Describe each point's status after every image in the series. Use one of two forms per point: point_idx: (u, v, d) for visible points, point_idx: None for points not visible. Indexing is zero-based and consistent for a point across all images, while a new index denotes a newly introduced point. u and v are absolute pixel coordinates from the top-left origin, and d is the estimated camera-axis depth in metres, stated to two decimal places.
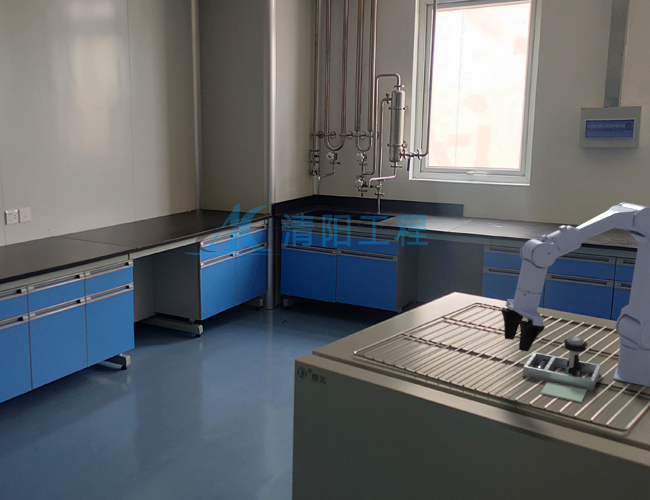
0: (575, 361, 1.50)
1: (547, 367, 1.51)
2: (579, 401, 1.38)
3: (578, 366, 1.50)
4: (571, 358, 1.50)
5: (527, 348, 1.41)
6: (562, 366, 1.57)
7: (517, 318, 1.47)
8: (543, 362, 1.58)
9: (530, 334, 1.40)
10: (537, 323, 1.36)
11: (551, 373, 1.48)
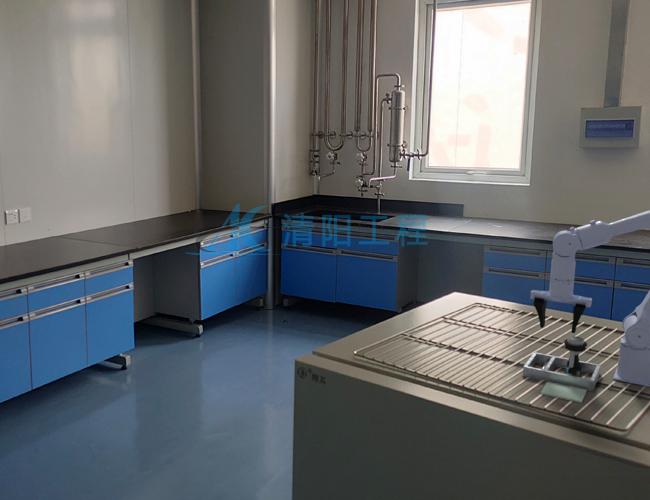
0: (575, 361, 1.50)
1: (547, 367, 1.51)
2: (579, 401, 1.38)
3: (578, 366, 1.50)
4: (571, 358, 1.50)
5: (575, 328, 1.54)
6: (562, 366, 1.57)
7: (545, 305, 1.57)
8: None
9: None
10: (590, 305, 1.50)
11: (551, 373, 1.48)
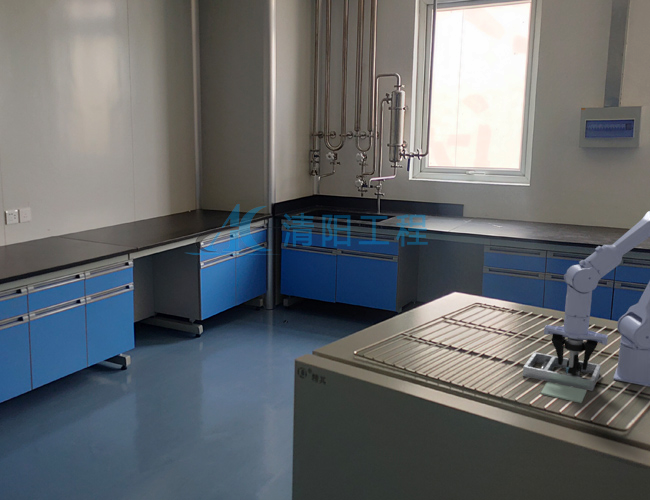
0: (575, 361, 1.50)
1: (547, 367, 1.51)
2: (579, 401, 1.38)
3: (578, 366, 1.50)
4: (571, 358, 1.50)
5: None
6: (562, 366, 1.57)
7: (563, 342, 1.52)
8: None
9: None
10: (606, 342, 1.45)
11: (551, 373, 1.48)
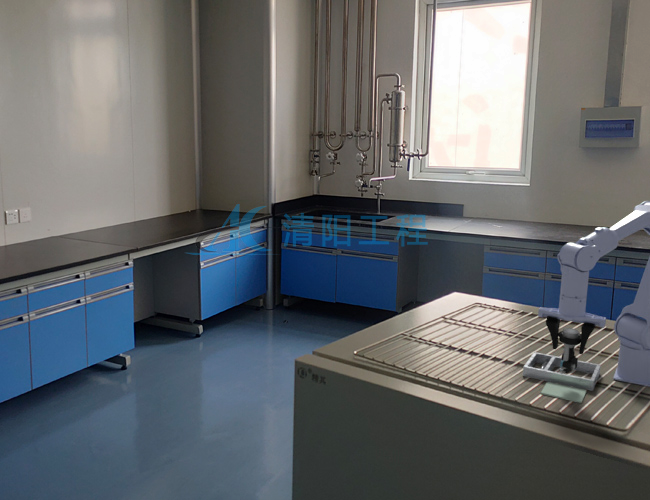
0: (570, 354, 1.43)
1: (547, 367, 1.51)
2: (579, 401, 1.38)
3: (573, 359, 1.43)
4: (565, 351, 1.42)
5: (583, 349, 1.41)
6: None
7: (558, 325, 1.43)
8: None
9: None
10: (604, 324, 1.37)
11: (551, 373, 1.48)
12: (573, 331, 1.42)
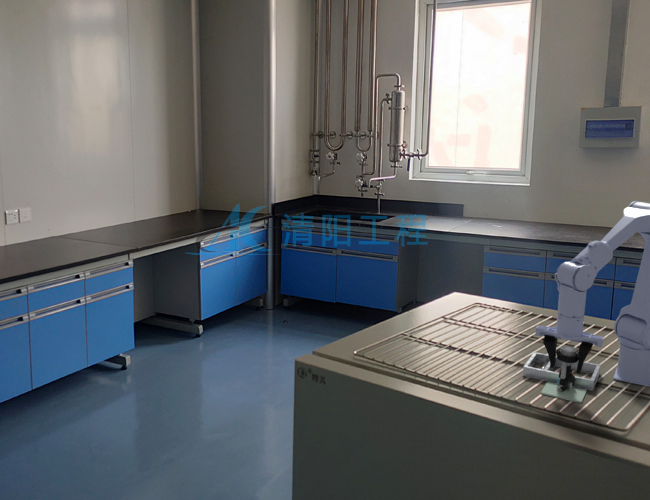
0: (567, 372, 1.42)
1: (547, 367, 1.51)
2: (579, 401, 1.38)
3: (570, 377, 1.42)
4: (563, 369, 1.42)
5: (581, 368, 1.40)
6: None
7: (556, 343, 1.43)
8: None
9: None
10: (602, 344, 1.36)
11: (551, 373, 1.48)
12: (571, 349, 1.41)
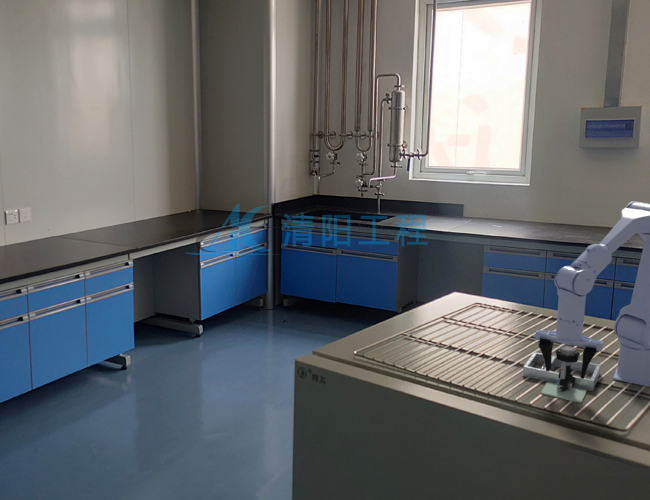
0: (567, 372, 1.43)
1: None
2: (579, 401, 1.38)
3: (570, 377, 1.43)
4: (562, 369, 1.42)
5: (585, 373, 1.40)
6: None
7: (551, 347, 1.43)
8: None
9: None
10: (601, 348, 1.36)
11: (551, 373, 1.48)
12: (570, 349, 1.42)
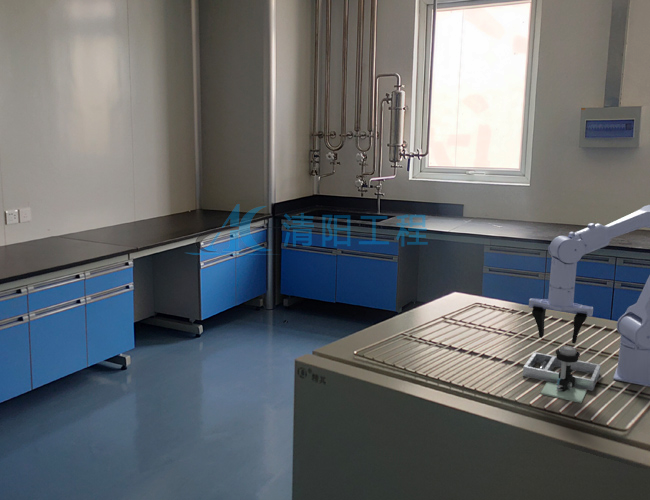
0: (567, 372, 1.43)
1: (547, 367, 1.51)
2: (579, 401, 1.38)
3: (570, 377, 1.43)
4: (562, 369, 1.42)
5: (576, 338, 1.47)
6: None
7: (544, 314, 1.50)
8: None
9: None
10: (592, 314, 1.43)
11: (551, 373, 1.48)
12: (570, 349, 1.42)
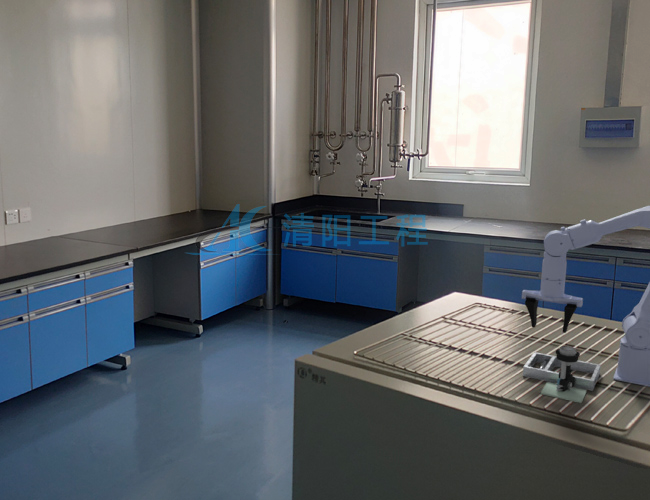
0: (567, 372, 1.43)
1: (547, 367, 1.51)
2: (579, 401, 1.38)
3: (570, 377, 1.43)
4: (562, 369, 1.42)
5: None
6: None
7: (536, 305, 1.57)
8: None
9: None
10: (581, 304, 1.50)
11: (551, 373, 1.48)
12: (570, 349, 1.42)
